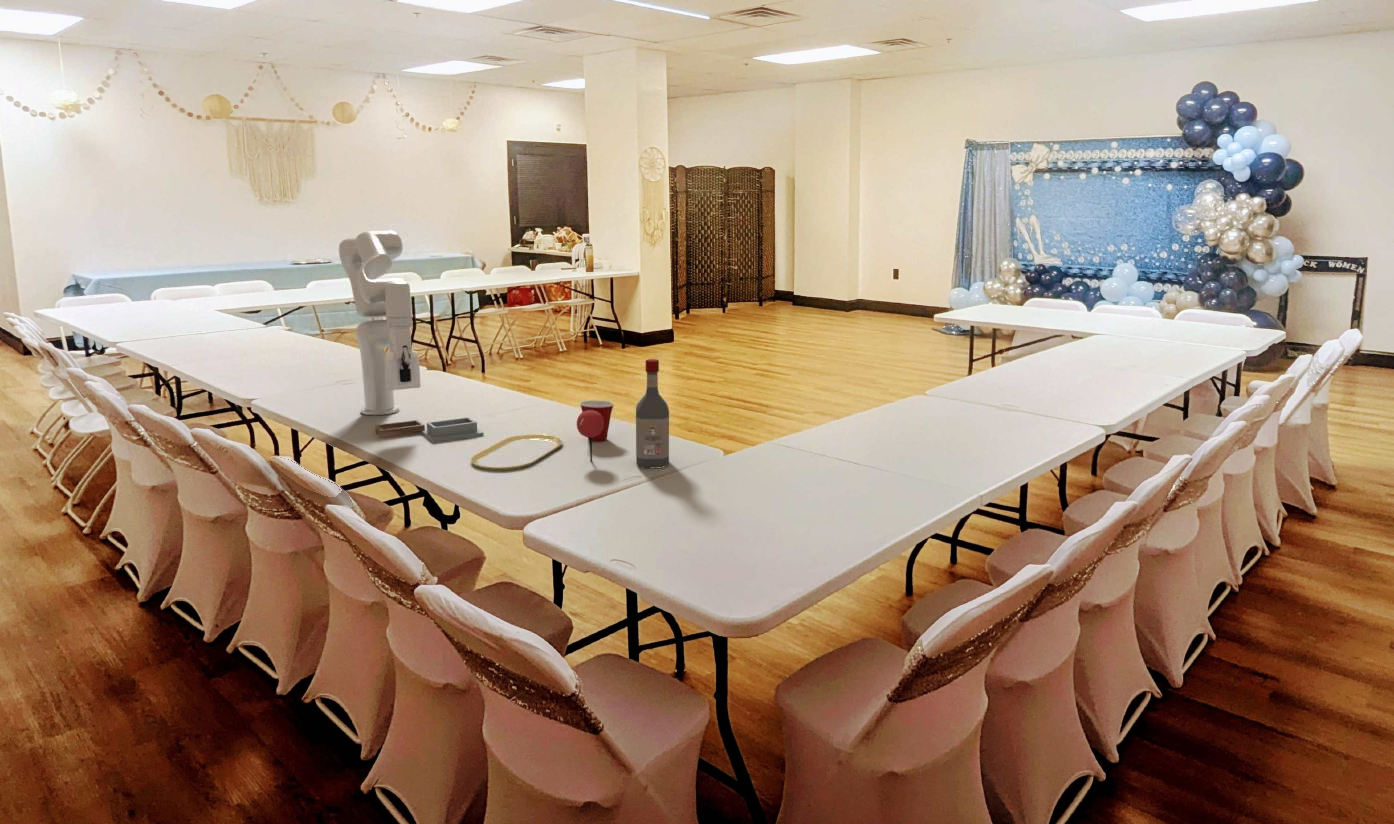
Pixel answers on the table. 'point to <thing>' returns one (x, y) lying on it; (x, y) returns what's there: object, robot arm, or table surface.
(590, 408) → the plastic cup
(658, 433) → the liquor
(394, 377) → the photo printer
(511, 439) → the gold oval ring
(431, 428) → the docking base
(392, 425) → the wooden picture frame
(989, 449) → the table surface
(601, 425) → the lollipop
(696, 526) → the table surface
